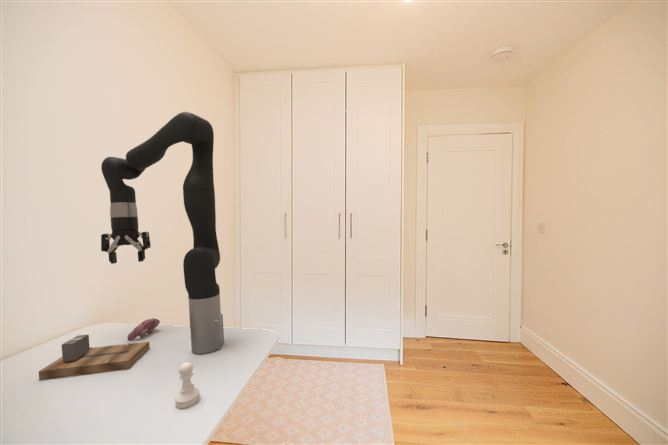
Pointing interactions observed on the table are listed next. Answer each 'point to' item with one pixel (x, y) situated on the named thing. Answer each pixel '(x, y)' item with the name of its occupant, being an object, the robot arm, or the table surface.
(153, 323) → the video game controller
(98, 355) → the fader base
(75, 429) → the table surface
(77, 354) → the fader cap
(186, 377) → the chess pawn
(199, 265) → the robot arm
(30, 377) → the table surface
